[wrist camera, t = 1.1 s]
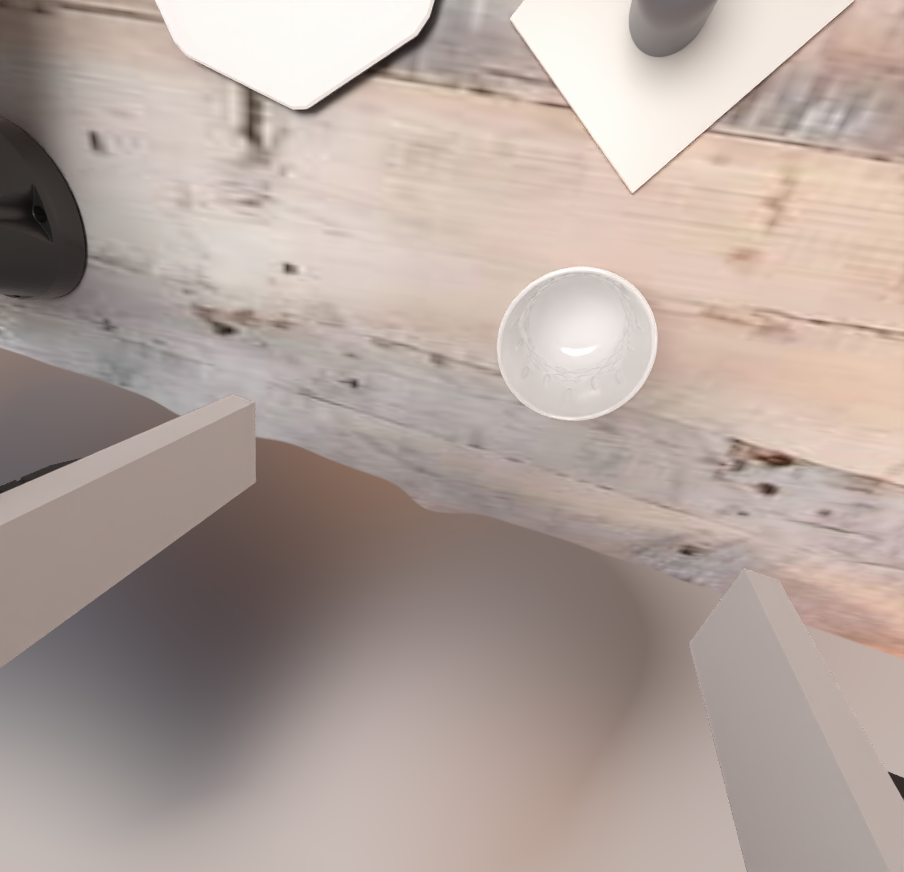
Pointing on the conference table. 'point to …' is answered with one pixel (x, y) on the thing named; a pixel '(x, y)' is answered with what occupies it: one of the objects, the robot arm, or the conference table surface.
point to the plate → (293, 40)
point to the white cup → (577, 343)
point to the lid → (661, 65)
